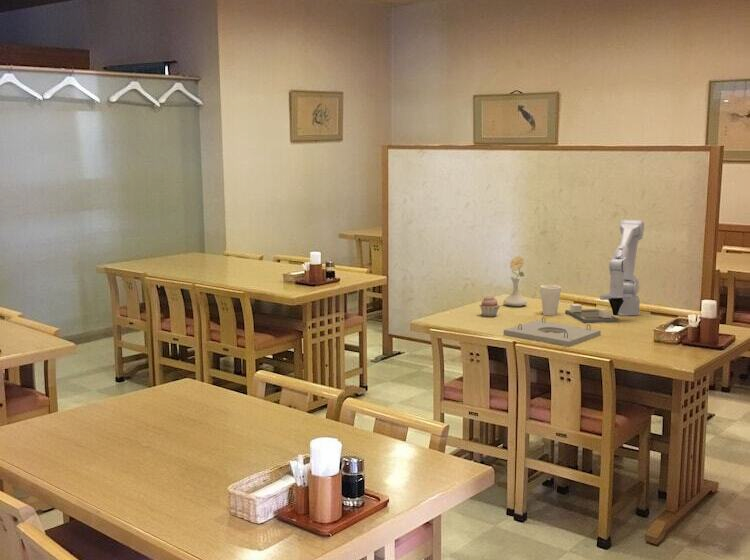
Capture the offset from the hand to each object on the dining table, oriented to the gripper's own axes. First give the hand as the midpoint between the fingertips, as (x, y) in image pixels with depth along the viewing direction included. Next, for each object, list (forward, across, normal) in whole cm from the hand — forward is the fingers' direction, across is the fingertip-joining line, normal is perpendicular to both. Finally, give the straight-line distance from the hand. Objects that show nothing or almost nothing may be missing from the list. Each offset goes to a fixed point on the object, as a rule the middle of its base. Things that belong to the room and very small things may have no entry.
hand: (615, 314), depth 371 cm
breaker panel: (+2, -8, +7) cm, 11 cm away
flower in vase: (+3, -33, +39) cm, 51 cm away
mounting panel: (+3, -39, -24) cm, 46 cm away
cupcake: (+3, -53, +18) cm, 56 cm away
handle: (+1, -13, +14) cm, 19 cm away
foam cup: (+3, -24, +17) cm, 30 cm away
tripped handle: (+1, -5, 0) cm, 5 cm away
